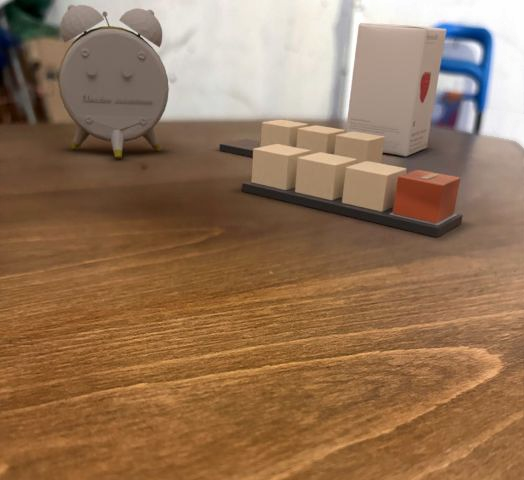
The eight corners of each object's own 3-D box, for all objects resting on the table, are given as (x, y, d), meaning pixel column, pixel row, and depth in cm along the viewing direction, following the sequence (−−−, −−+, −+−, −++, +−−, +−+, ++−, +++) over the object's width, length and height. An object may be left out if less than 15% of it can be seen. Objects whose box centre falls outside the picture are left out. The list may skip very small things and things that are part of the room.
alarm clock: (165, 149, 81) (164, 9, 74) (171, 161, 75) (170, 10, 68) (65, 147, 78) (55, 2, 71) (62, 159, 72) (51, 3, 65)
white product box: (407, 158, 84) (427, 27, 78) (342, 147, 88) (356, 22, 81) (428, 148, 92) (449, 27, 85) (368, 139, 95) (382, 23, 89)
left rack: (246, 145, 86) (248, 112, 84) (387, 172, 76) (392, 136, 74) (219, 150, 82) (220, 116, 80) (364, 180, 72) (369, 142, 70)
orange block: (411, 205, 60) (417, 168, 58) (453, 214, 58) (461, 176, 56) (391, 213, 57) (397, 175, 55) (436, 223, 55) (443, 184, 53)
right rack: (274, 182, 69) (277, 142, 67) (461, 223, 59) (470, 178, 57) (241, 191, 64) (243, 148, 63) (436, 237, 55) (445, 188, 53)
